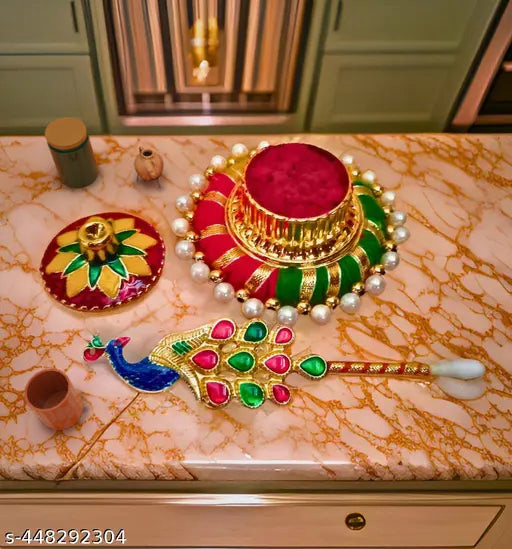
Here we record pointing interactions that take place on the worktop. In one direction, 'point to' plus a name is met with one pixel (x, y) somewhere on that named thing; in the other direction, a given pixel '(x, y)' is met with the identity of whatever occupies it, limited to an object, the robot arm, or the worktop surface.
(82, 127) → the jar
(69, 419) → the cup
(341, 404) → the worktop surface
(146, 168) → the pot
